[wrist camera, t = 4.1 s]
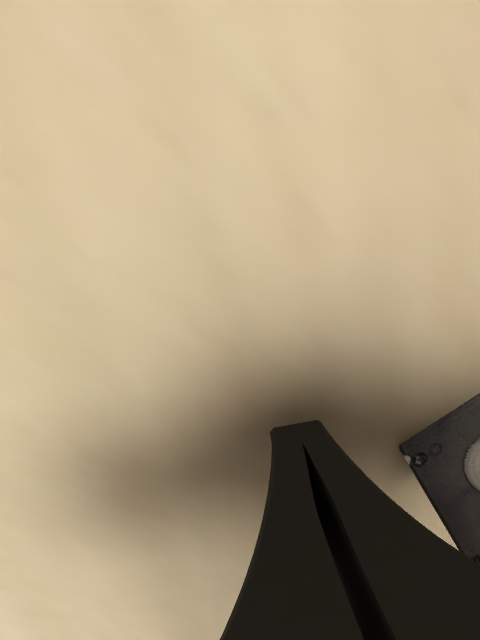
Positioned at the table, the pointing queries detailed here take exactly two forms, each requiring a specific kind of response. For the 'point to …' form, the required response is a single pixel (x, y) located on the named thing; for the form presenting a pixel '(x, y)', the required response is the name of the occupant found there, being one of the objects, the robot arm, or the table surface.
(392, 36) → the table surface
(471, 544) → the mini dv tape
